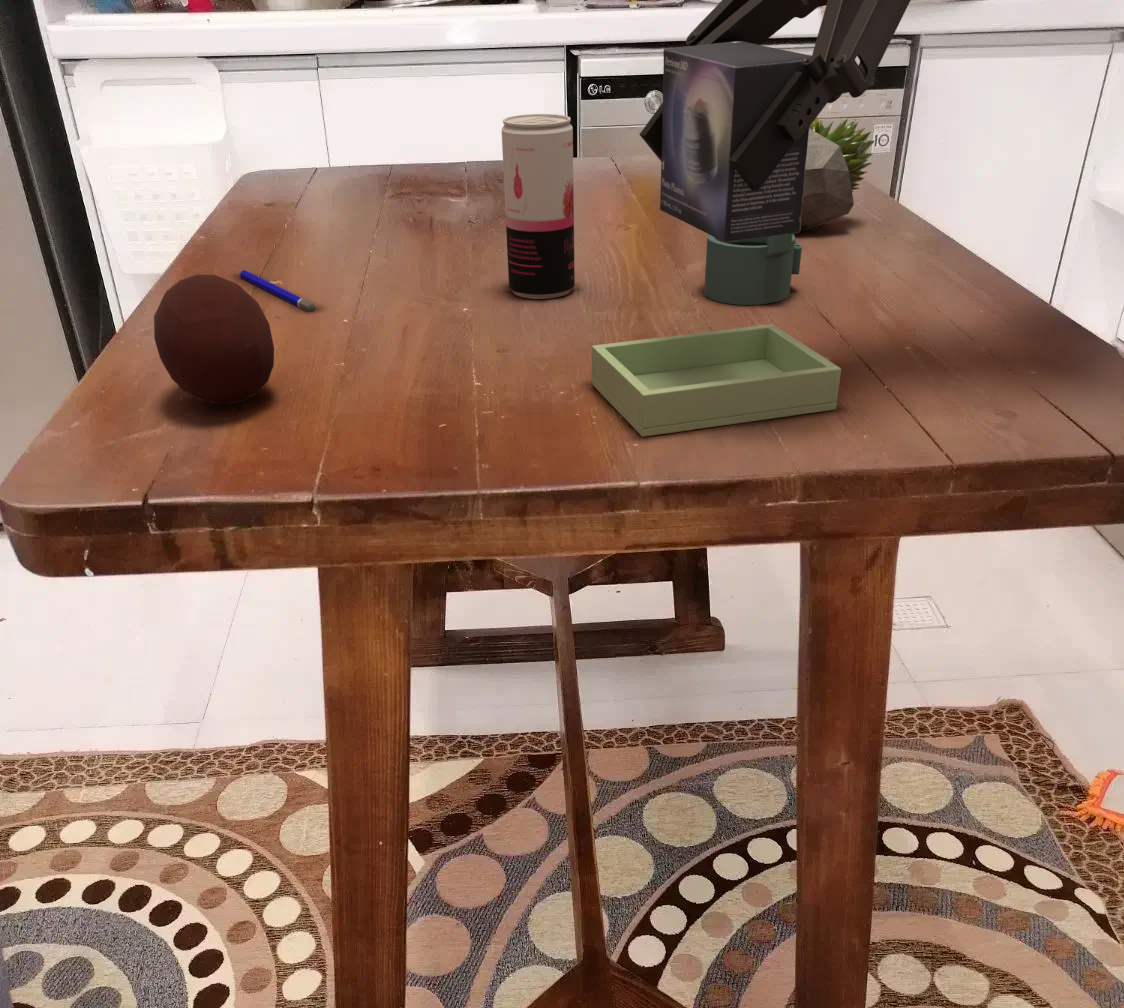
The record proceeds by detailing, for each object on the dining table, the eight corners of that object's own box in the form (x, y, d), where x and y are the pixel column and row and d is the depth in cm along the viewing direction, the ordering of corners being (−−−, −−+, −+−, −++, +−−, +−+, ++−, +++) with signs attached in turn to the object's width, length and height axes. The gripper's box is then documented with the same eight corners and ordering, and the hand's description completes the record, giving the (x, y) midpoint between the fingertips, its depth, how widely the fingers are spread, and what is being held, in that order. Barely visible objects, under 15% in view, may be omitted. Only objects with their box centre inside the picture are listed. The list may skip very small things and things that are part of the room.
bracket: (781, 309, 103) (792, 205, 98) (688, 299, 106) (693, 197, 101) (804, 285, 110) (816, 186, 104) (716, 276, 113) (723, 179, 107)
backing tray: (836, 409, 83) (841, 368, 81) (642, 437, 79) (643, 394, 77) (769, 361, 91) (772, 323, 90) (591, 384, 88) (591, 345, 86)
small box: (652, 211, 82) (657, 45, 75) (730, 203, 83) (741, 39, 77) (719, 244, 74) (731, 61, 67) (803, 233, 76) (823, 54, 69)
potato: (176, 433, 82) (144, 304, 76) (166, 381, 91) (136, 262, 85) (293, 416, 84) (270, 289, 78) (271, 367, 93) (250, 250, 87)
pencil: (317, 313, 106) (315, 302, 105) (308, 314, 106) (306, 304, 105) (245, 277, 117) (243, 267, 116) (237, 278, 116) (235, 268, 116)
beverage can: (588, 291, 109) (587, 118, 100) (536, 304, 106) (530, 127, 97) (547, 278, 113) (543, 111, 104) (496, 290, 110) (486, 119, 101)
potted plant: (719, 185, 131) (830, 137, 132) (766, 274, 130) (879, 225, 131) (734, 112, 120) (857, 60, 120) (787, 209, 118) (911, 156, 119)
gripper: (1073, -82, 65) (827, 234, 69) (829, -83, 82) (642, 172, 86) (1028, -200, 60) (766, 148, 64) (778, -177, 77) (582, 99, 81)
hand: (695, 162), depth 75 cm, fingers closed on small box, 11 cm apart
